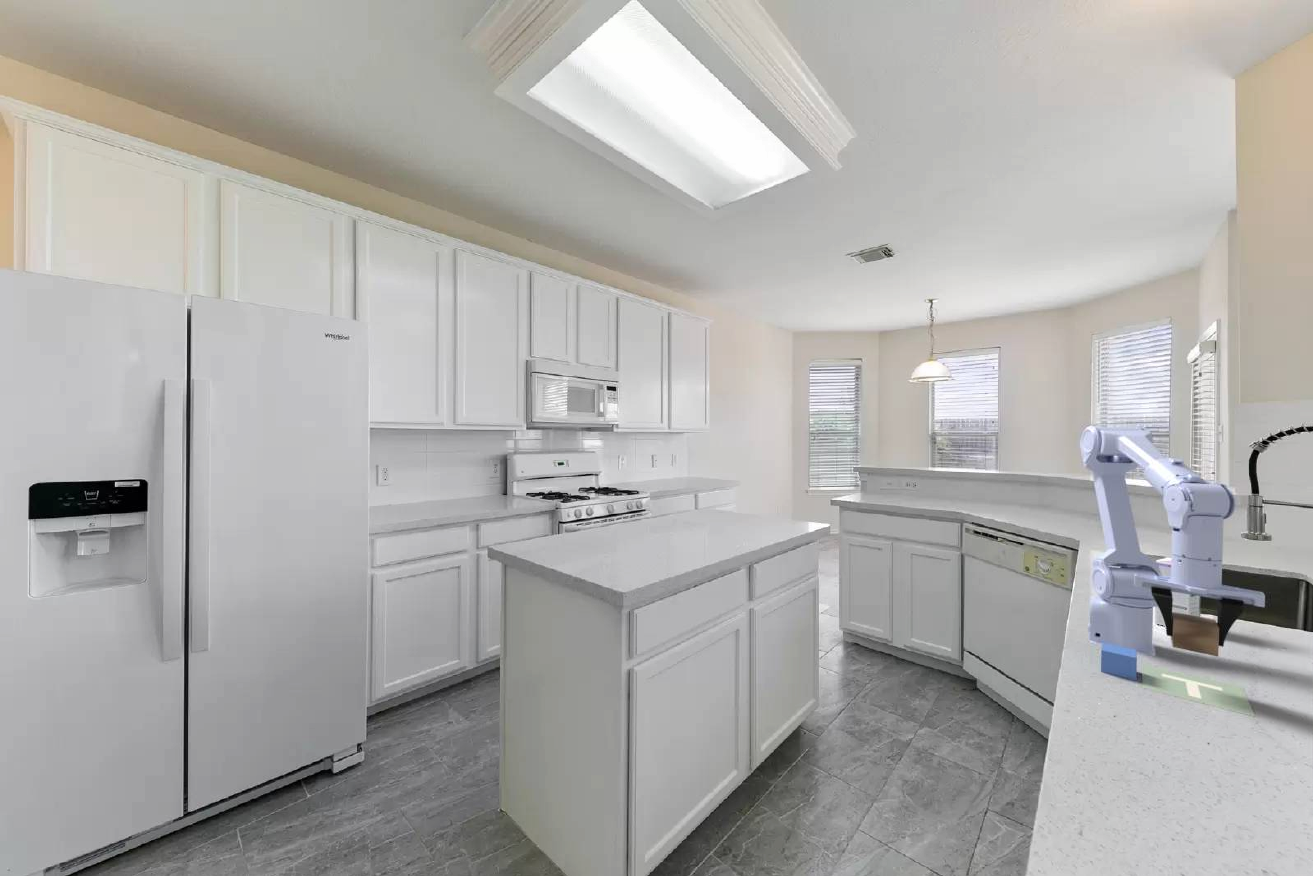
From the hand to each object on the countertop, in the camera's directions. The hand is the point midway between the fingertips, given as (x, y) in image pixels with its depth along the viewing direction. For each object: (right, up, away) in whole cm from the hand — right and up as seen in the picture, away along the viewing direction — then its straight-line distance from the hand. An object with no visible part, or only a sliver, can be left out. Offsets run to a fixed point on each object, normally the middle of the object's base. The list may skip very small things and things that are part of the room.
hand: (1193, 639), depth 83 cm
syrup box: (+26, -9, +28) cm, 39 cm away
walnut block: (0, -1, 0) cm, 1 cm away
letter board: (0, -9, 0) cm, 9 cm away
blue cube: (-7, -9, +5) cm, 13 cm away
